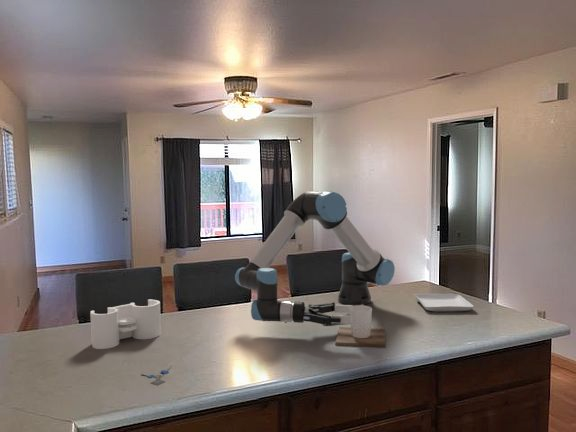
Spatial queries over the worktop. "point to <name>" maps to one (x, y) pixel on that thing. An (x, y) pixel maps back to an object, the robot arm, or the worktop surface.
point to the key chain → (157, 381)
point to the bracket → (125, 324)
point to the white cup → (360, 321)
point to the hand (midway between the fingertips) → (351, 314)
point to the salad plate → (443, 302)
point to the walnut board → (372, 341)
